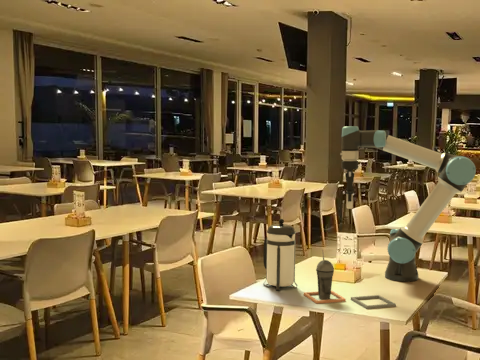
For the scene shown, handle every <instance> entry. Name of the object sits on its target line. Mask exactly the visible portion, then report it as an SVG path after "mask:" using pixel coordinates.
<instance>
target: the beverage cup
mask: <svg viewBox="0 0 480 360" xmlns="http://www.w3.org/2000/svg"><path fill="white" fill-rule="evenodd" d="M321 251H322V252H321V254H322V260H320V261H319V262H318V263H317V266H316V269H315V271H316V276H317V292H318V298H319V299H320V300H329V299H331V295H332V294H331V291H332V284H333V277H334V272H335V269H334V264H333V263H332V262H331V261H329V260H327V259H325V254H324V249H321Z"/></svg>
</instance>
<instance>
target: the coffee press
mask: <svg viewBox="0 0 480 360" xmlns="http://www.w3.org/2000/svg"><path fill="white" fill-rule="evenodd" d="M284 222H285V221H284V219H283V218H280V219H279V220H278V223H275V224H271V225H269V226H268V227H267V230H266V235H267V236H266V237H265V239H264V241H263V267H264V269H265V272H266V273H265V274H266V276H265V281H264V282H263V286H264V287H266V286H268V285H270V286H274V287H276V288H275V291H276V292H277V291H278V292H280V290H281V287H289V286H291V287H293V288H294V289H297V287H298V284H297V283H296V233H297V230H296V229H295V227H294V226H292V225H291V224H286V223H284ZM265 283H267V284H265ZM294 285H296V286H294Z"/></svg>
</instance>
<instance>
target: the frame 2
mask: <svg viewBox="0 0 480 360" xmlns="http://www.w3.org/2000/svg"><path fill="white" fill-rule="evenodd" d="M370 299H371V300H372V299H373V300H374V299H379V300H381V302H382V301H383V302H384V303H382V304H370V305H367V304H366V303H364V302H362V301H361V300H370ZM350 300H351V301H353V302H354V303H356V304H357V305H359V306H361V307H362V308H364V309H366V310H368V309H370V310H372V309H380V308H394V307H396V306H397V303H395V302H393V301H391V300H390V299H388V298H385V297H384V296H381V295H380V294H376V295H375V294H374V295H362V296H350Z"/></svg>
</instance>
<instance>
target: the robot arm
mask: <svg viewBox="0 0 480 360" xmlns="http://www.w3.org/2000/svg"><path fill="white" fill-rule="evenodd" d="M360 148H375V149H377V150H381V151H383V152H387V153H390V154H393V155H395V156H397V157H400V158H403V159H406V160H409V161H410V162H415V163H418V164H420V165H422V166H426V167H428V168H431V169H434V170H435V171H436V173H437V174H438V176H437V183H436V185H435V186H434V188H433V189H432V190H431V191H430V193H429V194H428V196H427V197H426V199H424V201H423V202H422V203H421V205H420V207H419V208H418V209H417V211H416V212H415V213H414V215H413V216H412V217H411V219H410V220H409V221H408V223H407V225H405V226H401V227H400V228H392V229H391V230H390V232H389V243H388V244H387V253H388V256H389V258H388V259H389V261H388V263H387V267H385V268H386V269H385V271H384V277H385V278H386V279H387V280H391V281H397V282H416V281H418V280H419V271H418V267H417V265H416V253H417V252H418V251H419V249H420V247H421V246H422V245H423V243H424V240H423V238H424V236H425V235H426V234H427V233H428V231H429V230H430V228H432V226H433V225H434V223H435V222H436V220H437V219H438V218H439V216H440V215H441V214H442V213H443V212H444V210H445V209H446V207H447V205H449V203H450V201H451V200H452V199H453V198H454V197H455V196H456V194H458V193H460V194H461V193H462V192H463V190H464V189H465V188H466V187H467V186H468V184H469V183H471V182H472V181H473V180H474V179H475V177H476V172H477V170H476V165H475V163H474V162H473V161H472V160H471V159H470V158H469V157H466V156H463V155H456V154H451V153H447V152H443V153H441V152H437V151H436V150H432V149H430V148H426V147H425V146H424V147H423V146H421V145H418V144H415V143H412V142H409V141H406V140H404V139H400V138H398V137H394V136H392V135H389V134H387V132H386V131H385V130H379V129H377V130H373V129H372V130H360V129H359V126H357V125H356V126H354V125H353V126H352V125H350V126H347V125H346V126H343V127H342V128H341V152H340V153H339V155H340V156H341V160H342V161H341V162H340V163H341V165H340V166H341V169H342V170H346V172H345V176H344V177H345V182H346V191H345V195H346V197H345V198H346V203H345V205H346V209H349V210H353V209H354V201H353V200H354V191H355V190H354V188H353V187H354V185H353V184H354V178H355V173H354V172H353V171H354V170H358V169H359V149H360Z"/></svg>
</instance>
